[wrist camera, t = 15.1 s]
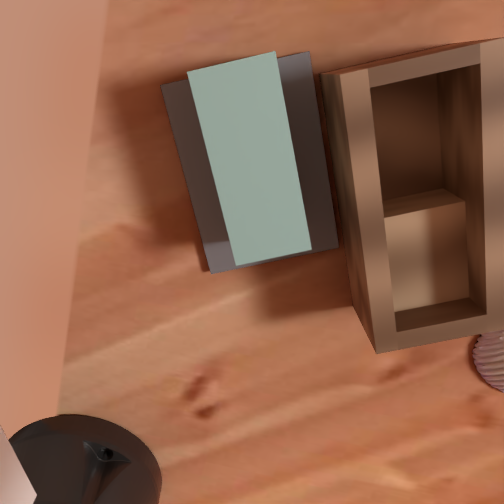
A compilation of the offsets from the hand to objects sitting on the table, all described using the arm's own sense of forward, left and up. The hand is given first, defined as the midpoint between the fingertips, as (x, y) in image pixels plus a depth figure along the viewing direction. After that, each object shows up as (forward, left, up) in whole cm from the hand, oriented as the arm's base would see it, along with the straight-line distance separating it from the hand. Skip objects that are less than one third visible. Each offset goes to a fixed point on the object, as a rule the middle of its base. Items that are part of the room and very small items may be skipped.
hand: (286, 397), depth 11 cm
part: (0, +2, -24) cm, 24 cm away
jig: (+10, -4, -25) cm, 27 cm away
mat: (0, 0, -25) cm, 25 cm away
